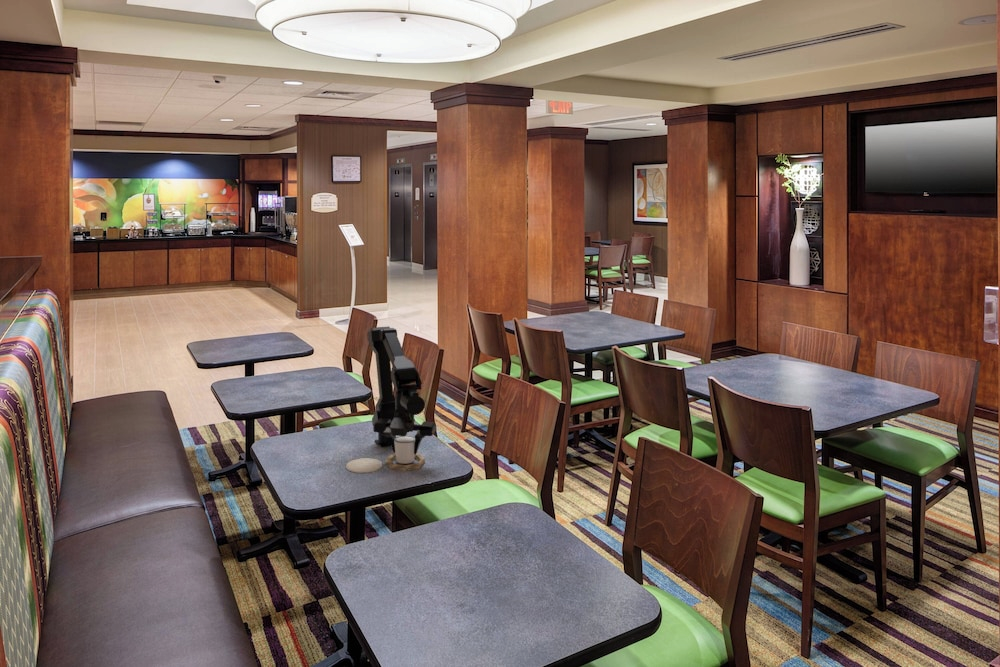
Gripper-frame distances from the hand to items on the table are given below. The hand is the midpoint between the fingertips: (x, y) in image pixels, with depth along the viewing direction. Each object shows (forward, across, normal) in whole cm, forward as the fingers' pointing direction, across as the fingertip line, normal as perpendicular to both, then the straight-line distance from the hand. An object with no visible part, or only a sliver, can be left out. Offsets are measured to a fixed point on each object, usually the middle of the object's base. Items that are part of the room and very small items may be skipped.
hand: (405, 453), depth 224 cm
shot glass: (+2, 0, 0) cm, 2 cm away
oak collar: (+3, 0, 0) cm, 3 cm away
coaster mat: (+3, -12, -5) cm, 13 cm away
